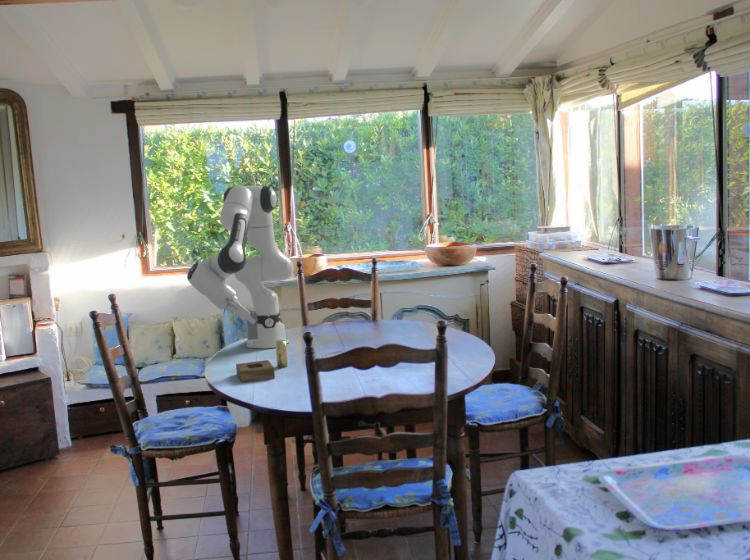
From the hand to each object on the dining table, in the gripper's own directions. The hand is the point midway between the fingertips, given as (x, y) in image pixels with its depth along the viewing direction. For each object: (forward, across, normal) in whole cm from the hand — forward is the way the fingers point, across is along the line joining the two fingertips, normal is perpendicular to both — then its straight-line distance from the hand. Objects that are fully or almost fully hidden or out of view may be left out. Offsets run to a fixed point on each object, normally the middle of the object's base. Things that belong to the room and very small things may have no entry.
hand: (253, 321), depth 269 cm
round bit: (+21, +4, +6) cm, 22 cm away
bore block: (+13, -6, +15) cm, 20 cm away
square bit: (+4, 0, +5) cm, 6 cm away
